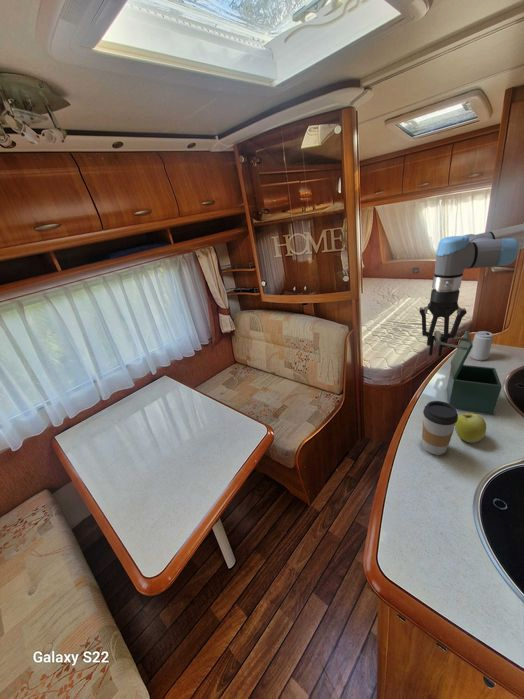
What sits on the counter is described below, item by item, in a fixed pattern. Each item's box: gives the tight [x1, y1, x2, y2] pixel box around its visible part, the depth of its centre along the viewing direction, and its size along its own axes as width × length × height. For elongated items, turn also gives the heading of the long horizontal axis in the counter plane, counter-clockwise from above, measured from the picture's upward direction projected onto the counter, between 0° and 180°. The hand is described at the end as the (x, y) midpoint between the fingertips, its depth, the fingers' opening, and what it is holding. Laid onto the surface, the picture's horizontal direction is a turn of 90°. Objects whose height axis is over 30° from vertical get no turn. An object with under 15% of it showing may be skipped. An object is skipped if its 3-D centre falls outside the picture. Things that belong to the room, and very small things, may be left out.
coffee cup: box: [421, 400, 459, 456], centre depth 80 cm, size 8×8×15 cm
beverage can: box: [469, 330, 494, 361], centre depth 119 cm, size 6×6×12 cm
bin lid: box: [433, 330, 473, 379], centre depth 94 cm, size 13×12×10 cm
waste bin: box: [446, 364, 503, 416], centre depth 96 cm, size 13×12×12 cm
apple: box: [454, 412, 487, 443], centre depth 83 cm, size 8×8×10 cm
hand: (434, 353), depth 96 cm, fingers closed on bin lid, 2 cm apart
